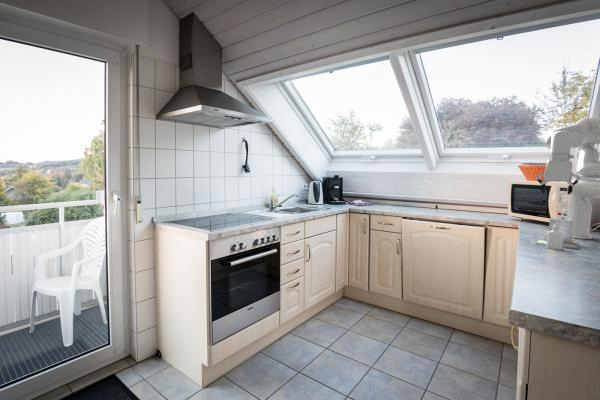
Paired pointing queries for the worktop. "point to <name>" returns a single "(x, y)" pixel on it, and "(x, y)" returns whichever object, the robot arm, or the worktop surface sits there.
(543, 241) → the sage pad
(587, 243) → the worktop surface
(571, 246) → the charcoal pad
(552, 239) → the eye dropper bottle
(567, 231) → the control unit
